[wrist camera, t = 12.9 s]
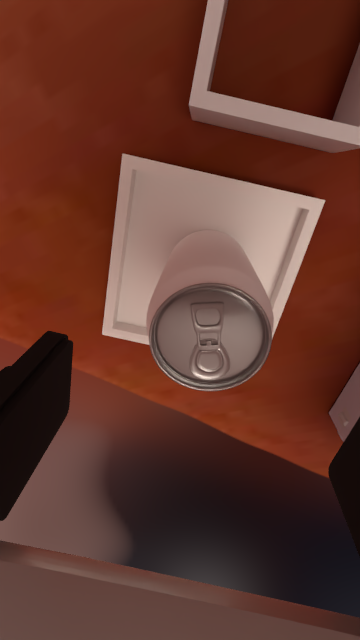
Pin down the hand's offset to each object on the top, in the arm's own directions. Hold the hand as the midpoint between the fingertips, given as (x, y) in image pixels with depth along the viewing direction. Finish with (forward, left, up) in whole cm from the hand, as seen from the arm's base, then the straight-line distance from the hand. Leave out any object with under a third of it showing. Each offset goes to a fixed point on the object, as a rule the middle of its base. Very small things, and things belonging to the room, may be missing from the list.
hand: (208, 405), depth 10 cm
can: (0, 0, -17) cm, 17 cm away
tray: (0, 0, -17) cm, 17 cm away
